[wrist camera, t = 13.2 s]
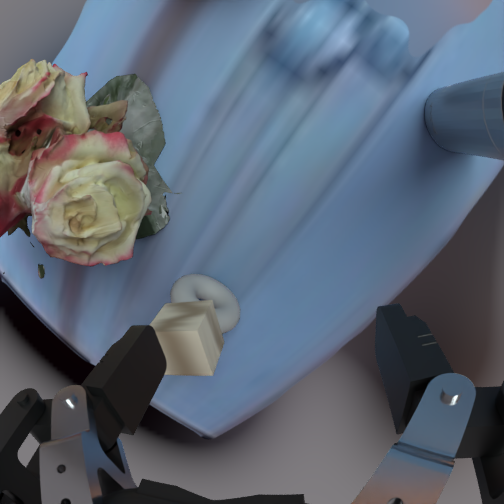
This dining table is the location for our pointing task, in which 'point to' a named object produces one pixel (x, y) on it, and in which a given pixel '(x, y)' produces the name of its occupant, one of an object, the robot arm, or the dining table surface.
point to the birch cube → (189, 337)
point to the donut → (208, 297)
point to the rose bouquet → (80, 164)
